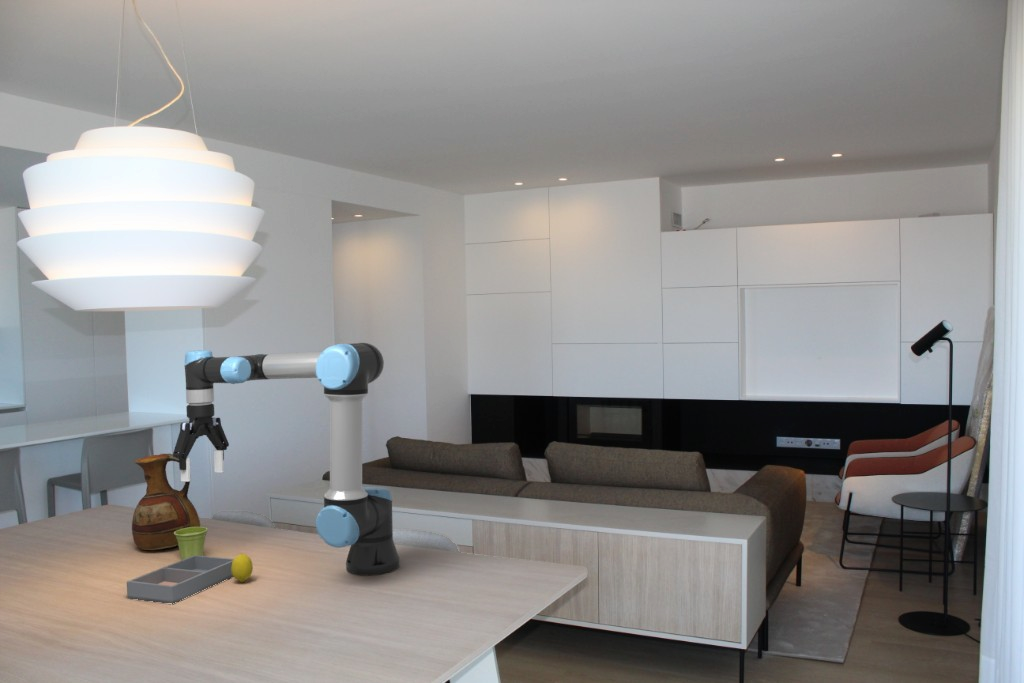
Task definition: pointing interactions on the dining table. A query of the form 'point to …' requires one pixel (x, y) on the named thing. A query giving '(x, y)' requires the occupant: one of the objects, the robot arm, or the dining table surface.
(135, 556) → the dining table surface
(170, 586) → the sorting tray
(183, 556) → the plant pot
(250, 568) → the lemon
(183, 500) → the ceramic pitcher
